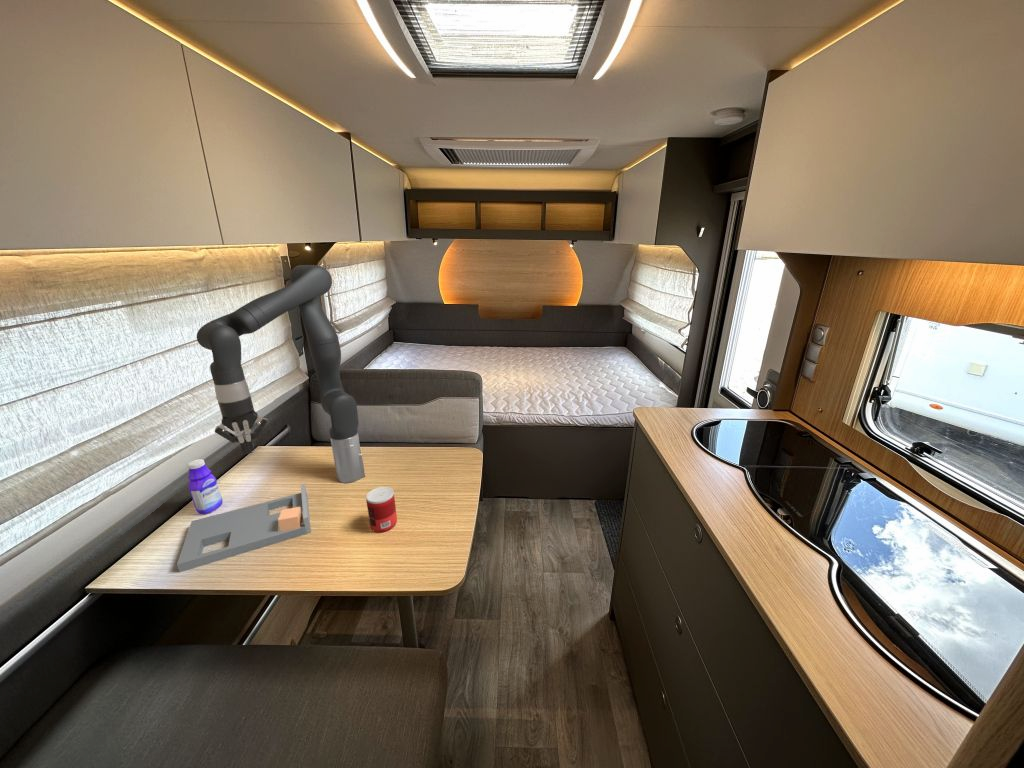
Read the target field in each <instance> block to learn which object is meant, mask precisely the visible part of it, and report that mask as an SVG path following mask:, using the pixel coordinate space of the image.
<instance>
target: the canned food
mask: <svg viewBox="0 0 1024 768" xmlns="http://www.w3.org/2000/svg"><path fill="white" fill-rule="evenodd" d="M394 492H395V491H394V489H393V488H391V487H389V486H380V487H379V486H378V487H376V488H374V489H373V488H372V490H370V491H369V492H368V493H366V496H365V500H366V506H367V507H366V508H367V513H368V519H369V526H370V529H371V530H372V531H373V532H375V533H379V534H380V533H386V532H388V531H390V530H392V529H394V527H396V525H397V523H398V516H397V510H396V509H397V508H396V499H395V493H394Z"/></svg>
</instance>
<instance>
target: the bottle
mask: <svg viewBox="0 0 1024 768" xmlns="http://www.w3.org/2000/svg"><path fill="white" fill-rule="evenodd" d="M187 467H188V473H189V474H188V476H187V479H188V480H189V482H188V491H189V493H190V496H191V499H192V502H193V505H194V508H195V511H196V513H199V514H201V515H208V514H211V513H213V512H214V511H216V510H218V509H219V508H220V507H221V506H222V505H223V502H224V501H223V498H222V495H221V492H220V491H221V489H220V488H219V487H220V486H219V484H218V482H217V481H218V480H217V478H216V477H215V476H214V474H212V470H211V469H209V468H208V467H207V465H206V462H205V460H204V459H202V458H199V459H195V460H191V461H189V462H188V463H187Z"/></svg>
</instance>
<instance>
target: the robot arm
mask: <svg viewBox="0 0 1024 768" xmlns="http://www.w3.org/2000/svg"><path fill="white" fill-rule="evenodd" d="M289 283H290V284H288V285H286V286H284V287H282V288H280V289H277V290H275V291H272V292H269V293H267V294H263V295H262V296H259V297H257V298H255V299H252V300H251V301H249V302H248V303H245V304H244V305H242V306H241V307H239V308H237V309H236V310H234V311H233V312H230V313H227V314H225V315H222V316H220V317H217V318H215V319H213V320H211V321H209V322H207V323H204V324H203V325H202V326H201V327H200V328H199V329H198V330H197V333H196V341H197V343H198V344H199V345H200V346H201V347H202V348H204V349H207V350H208V351H211V353H212V360H213V361H212V362H211V363H210V366H209V369H210V370H209V371H210V373H211V378H212V381H213V384H214V391H215V392H214V393H215V398H216V400H217V403H218V406H219V410H220V415H221V417H222V418H221V423H220V424H219V425H216V426H215V428H214V433H216V435H219V436H220V437H222V438H224V439H226V440H227V441H229V442H230V443H233V444H235V443H239V444H240V447H241V451H242V453H244V454H246V455H248V454H252V453H253V451H254V449H255V445H254V442H253V441H254V440H255V439H257V438H258V437H259V436H260V434H261V433H262V431H263V429H264V428H265V426H266V425H267V423H268V418H267V417H265V416H264V417H262V416H259V415H258V413H257V412H256V410H255V409H254V404H253V400H252V396H251V393H250V388H249V385H248V383H247V381H246V380H247V379H246V377H245V373H244V368H243V365H242V343H241V339H240V336H243V335H249V334H252V333H255V332H257V331H259V330H260V329H261V328H263V327H265V326H266V325H268V324H270V323H271V322H273V321H274V320H276V319H278V317H280V316H281V315H283V314H286V313H287V312H289V311H290V310H292V309H294V308H296V307H298V309H299V313H300V315H301V320H302V324H303V327H304V330H305V335H306V339H307V345H308V348H309V352H310V356H311V359H312V363H313V367H314V370H315V373H316V377H317V380H318V387H319V395H320V396H319V397H320V404H321V407H322V409H323V411H324V412H325V413H327V414H328V415H329V416H330V423H331V424H330V425H331V427H329V431H328V432H329V433H328V434H329V438H330V444H331V450H332V456H333V462H334V467H335V474H336V478H337V481H338V482H339V483H342V484H349V483H350V484H351V483H353V482H357V481H358V480H361V479H362V478H365V477H366V473H365V468H364V467H365V466H364V459H363V453H362V450H361V446H360V444H361V443H360V439H359V437H360V436H359V431H358V427H359V414H358V407H357V401H356V400H355V398H354V397H353V396H352V395H350V394H349V393H346V392H345V389H344V387H343V383H342V379H341V376H340V375H341V374H340V369H341V363H342V361H341V360H342V350H341V345H340V341H339V336H338V333H337V331H336V329H335V328H334V326H333V324H332V323H331V321H330V319H329V318H328V316H327V315H326V313H325V311H324V309H323V306H322V302H321V298H320V296H323V295H325V294H327V293H328V292H329V291H330V290H331V288H332V286H333V278H332V275H331V273H330V271H329V270H328V269H326V268H325V267H323V266H320V265H318V264H317V265H315V264H298V265H296V266H294V267H293V268H292V269H291V271H290V274H289ZM256 423H257V426H256V428H255V430H254V431H253V432H252V430H251V429H252V428H253V427H254V425H255V424H256ZM227 429H229V430H231V431H232V432H231V431H229V430H227ZM233 432H234V433H235V434H234V433H233Z"/></svg>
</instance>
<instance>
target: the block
mask: <svg viewBox="0 0 1024 768" xmlns="http://www.w3.org/2000/svg"><path fill="white" fill-rule="evenodd" d="M280 512H281V513H280ZM280 512H279V513H280V516H279V519H278V522H279V526H280V531H281V532H282V531H287V530H292V529H298V528H300V526H301V522H302V518H303V517H302V512H301V507H295V508H293V507H291V508H285V509H281V511H280Z"/></svg>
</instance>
